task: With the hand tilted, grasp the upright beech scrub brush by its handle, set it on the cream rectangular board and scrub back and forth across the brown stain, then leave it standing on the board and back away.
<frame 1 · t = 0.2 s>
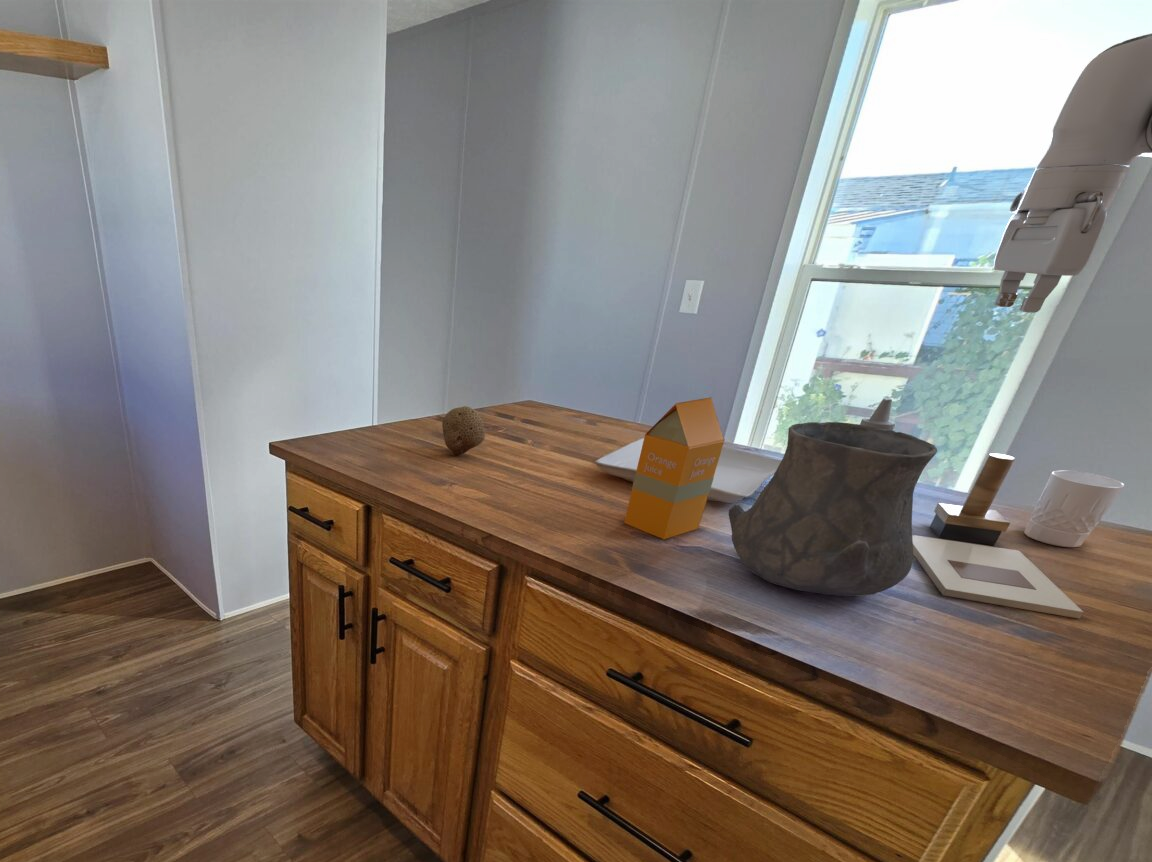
hand: (1014, 309, 93), 33 cm above the counter, tool pointing down, fingers open, 8 cm apart
square plate: (687, 479, 127), on the counter
white cup: (1051, 540, 104), on the counter
squeeze bottle: (845, 502, 117), on the counter
scrub brush: (960, 535, 104), on the counter
cream rectangular board: (981, 574, 92), on the counter
vessel: (796, 577, 91), on the counter
orange juice: (660, 526, 106), on the counter
natural sponge: (461, 455, 139), on the counter
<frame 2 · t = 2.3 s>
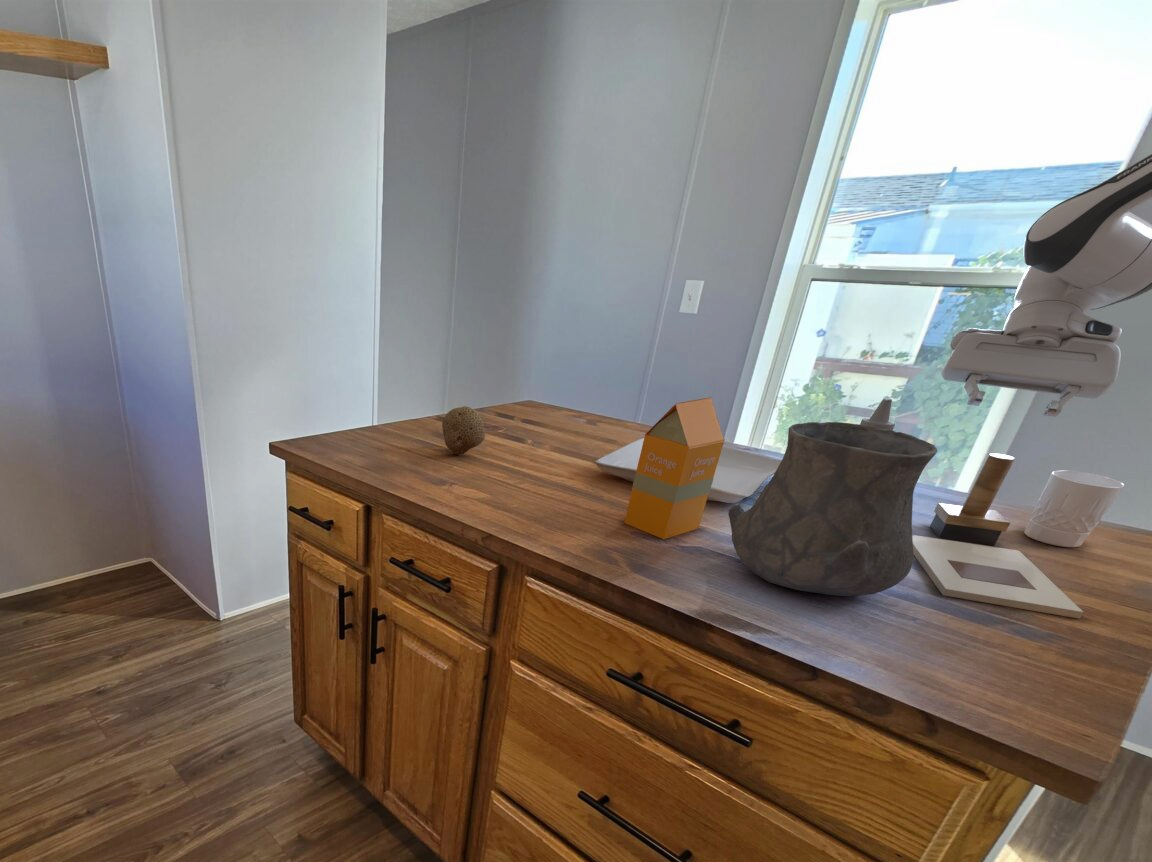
hand: (1012, 408, 104), 18 cm above the counter, tool tilted 45°, fingers open, 8 cm apart
nothing on the counter moved.
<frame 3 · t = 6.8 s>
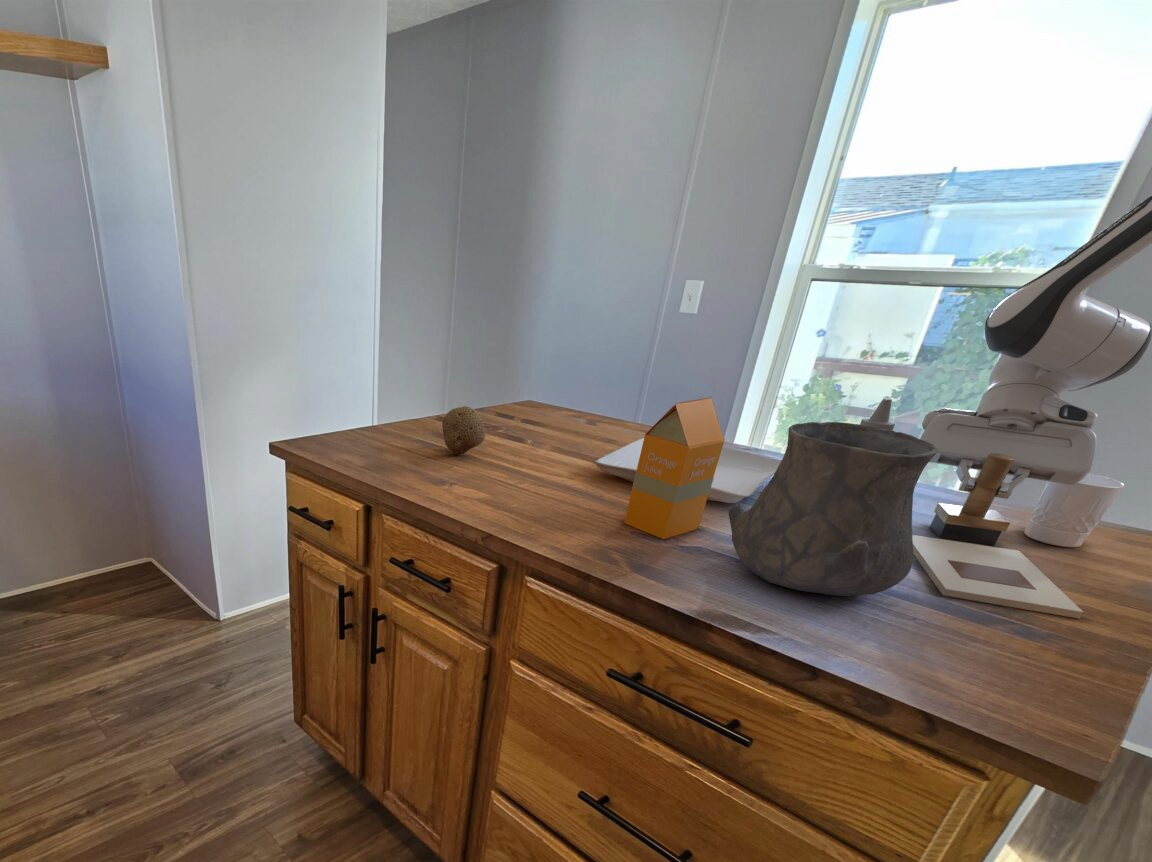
hand: (984, 493, 100), 7 cm above the counter, tool tilted 45°, fingers closed on scrub brush, 3 cm apart
scrub brush: (961, 535, 104), on the counter, touching gripper
everything else where it was.
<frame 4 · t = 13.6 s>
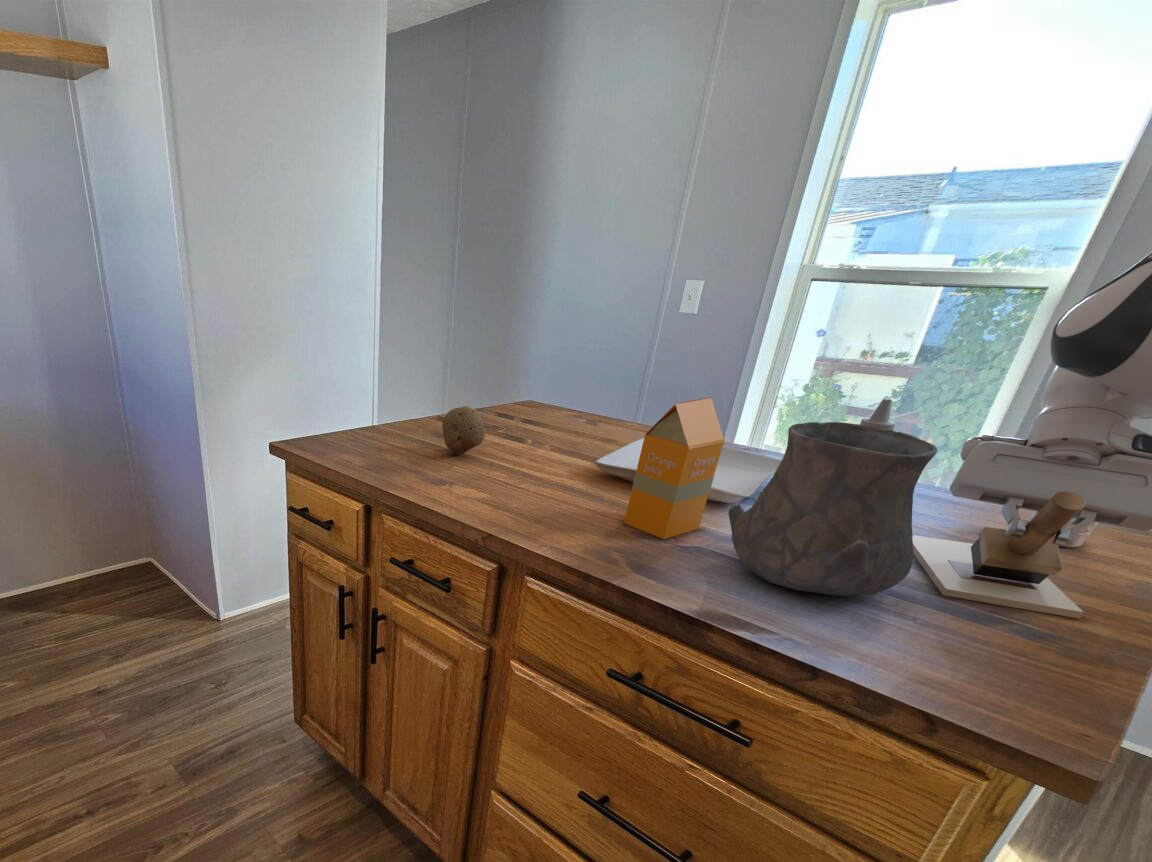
hand: (1038, 539, 83), 8 cm above the counter, tool tilted 45°, fingers closed on scrub brush, 3 cm apart
scrub brush: (1003, 565, 90), point 2 cm above the counter, tilted 28°, touching gripper
everything else where it was.
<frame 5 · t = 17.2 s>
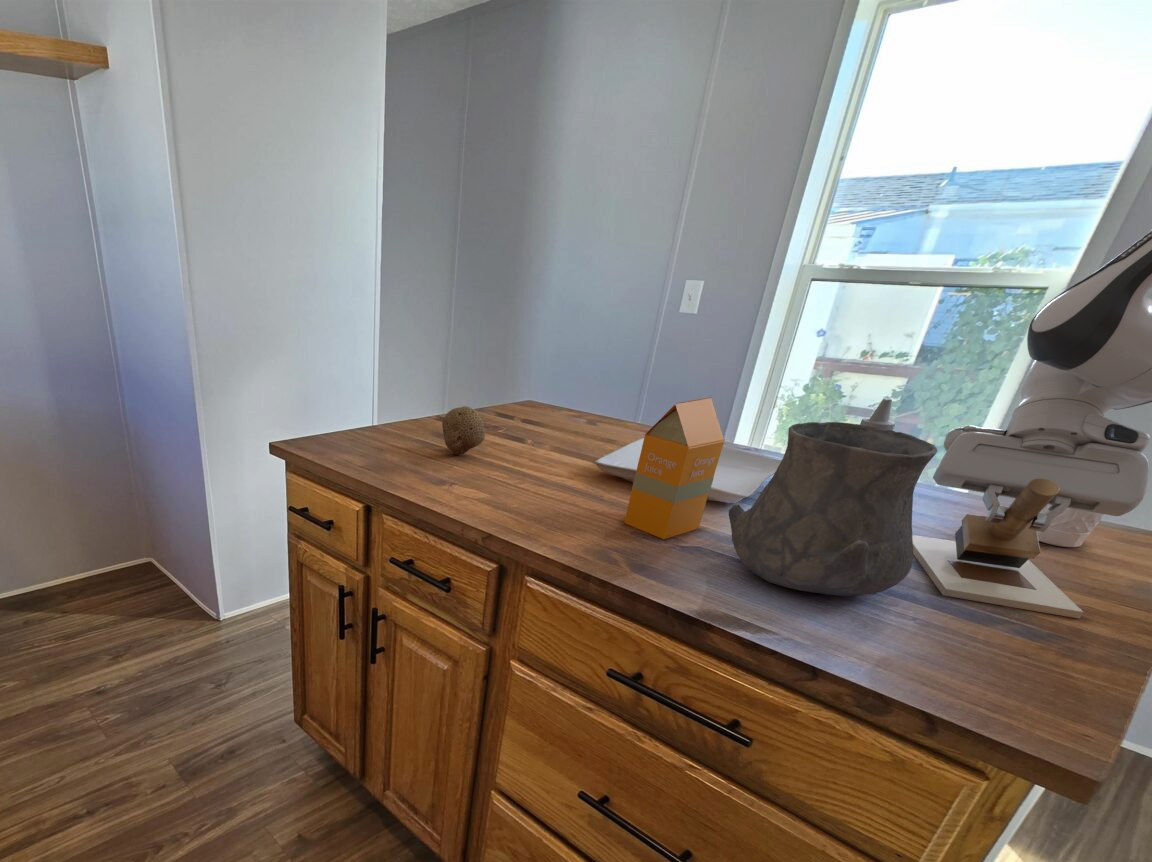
hand: (1016, 524, 87), 8 cm above the counter, tool tilted 45°, fingers closed on scrub brush, 3 cm apart
scrub brush: (986, 550, 94), point 2 cm above the counter, tilted 28°, touching gripper
everything else where it was.
when the fingers open (8 cm above the counter, at t = 20.3 s): scrub brush drops 1 cm, resting on cream rectangular board.
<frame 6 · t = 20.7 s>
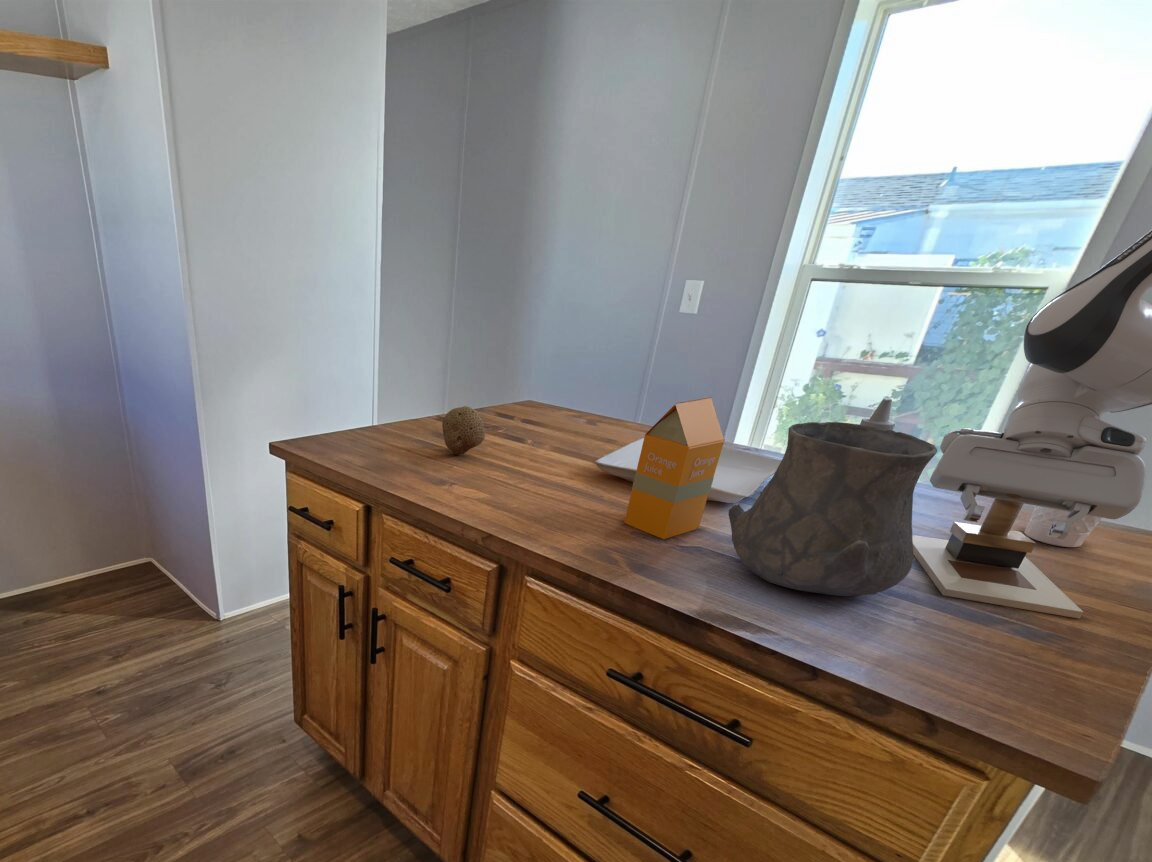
hand: (1012, 527, 87), 8 cm above the counter, tool tilted 45°, fingers open, 7 cm apart
scrub brush: (980, 558, 94), point 1 cm above the counter, touching cream rectangular board
everything else where it was.
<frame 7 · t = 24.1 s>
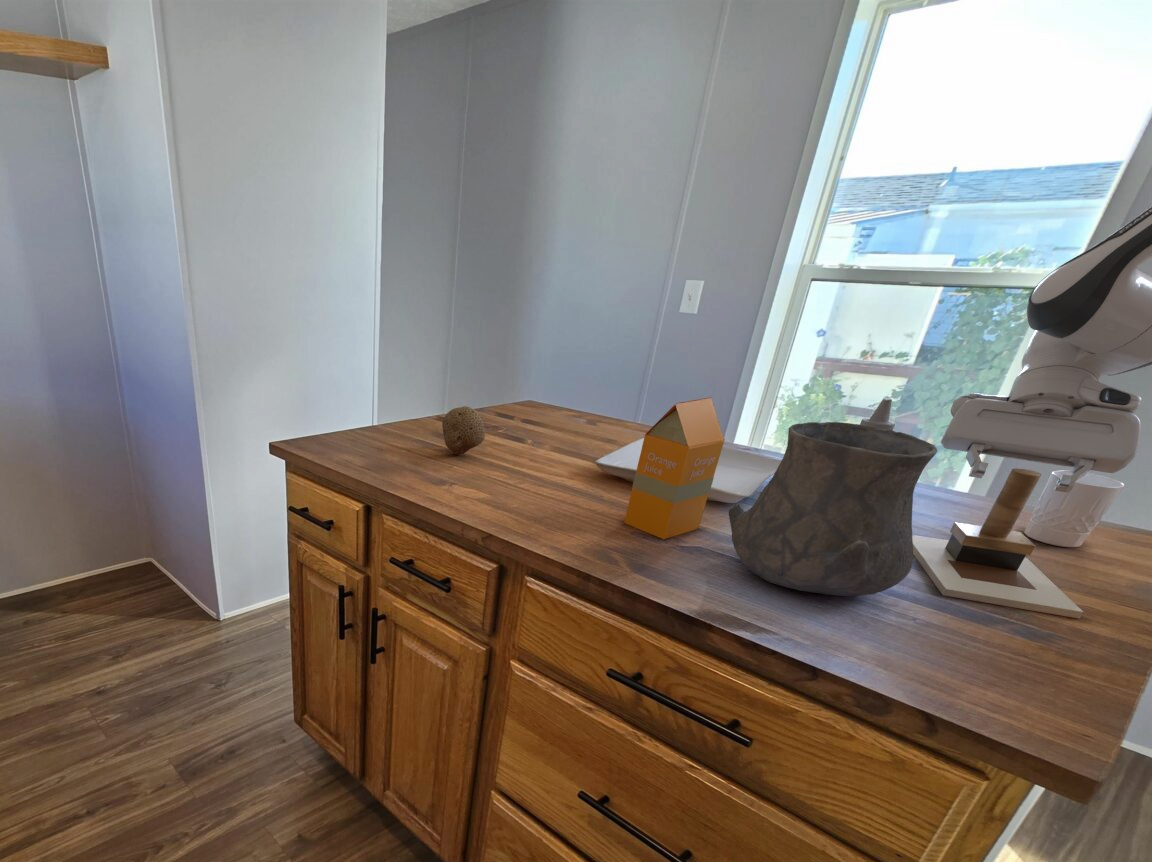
hand: (1018, 482, 94), 11 cm above the counter, tool tilted 45°, fingers open, 8 cm apart
nothing on the counter moved.
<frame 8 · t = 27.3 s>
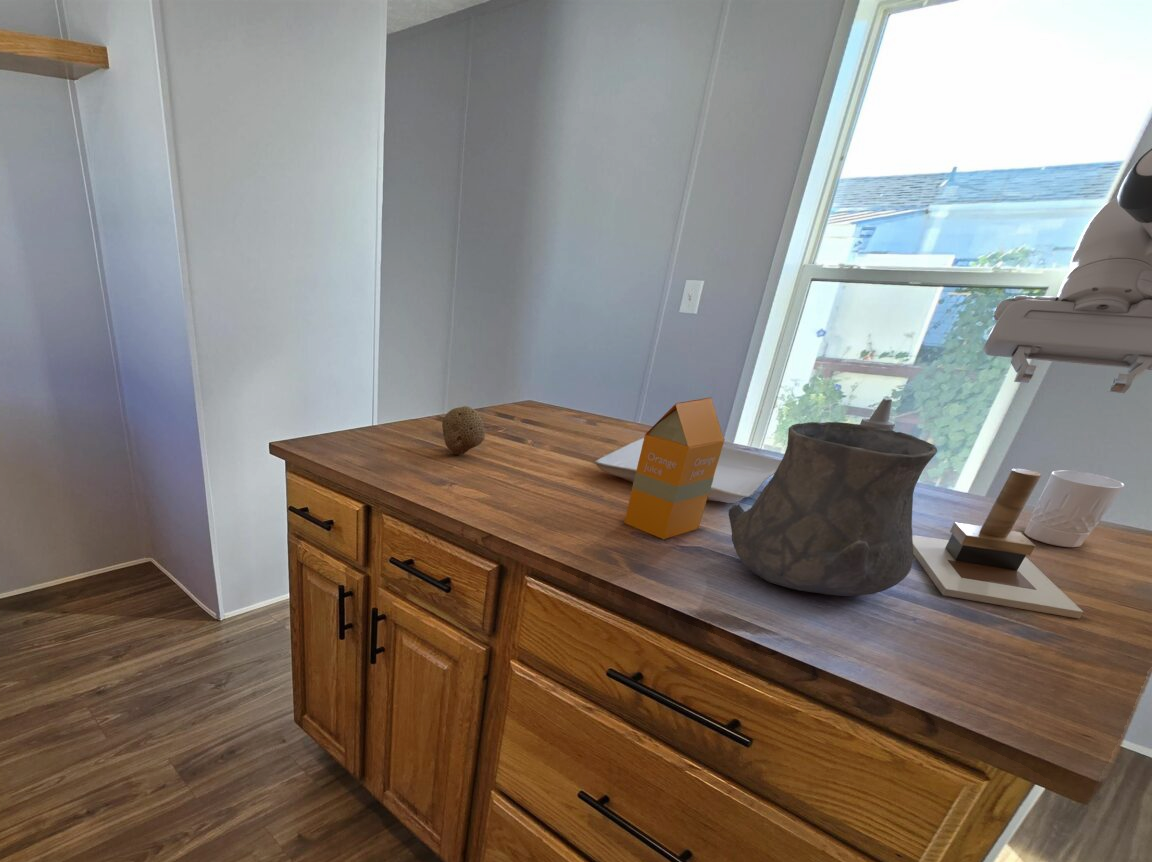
hand: (1069, 384, 88), 24 cm above the counter, tool tilted 45°, fingers open, 8 cm apart
nothing on the counter moved.
at the end: scrub brush inside the target area (4.5 cm from its centre), point 1.0 cm above the counter; scrub brush tilted 1°; scrub brush touching cream rectangular board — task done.
